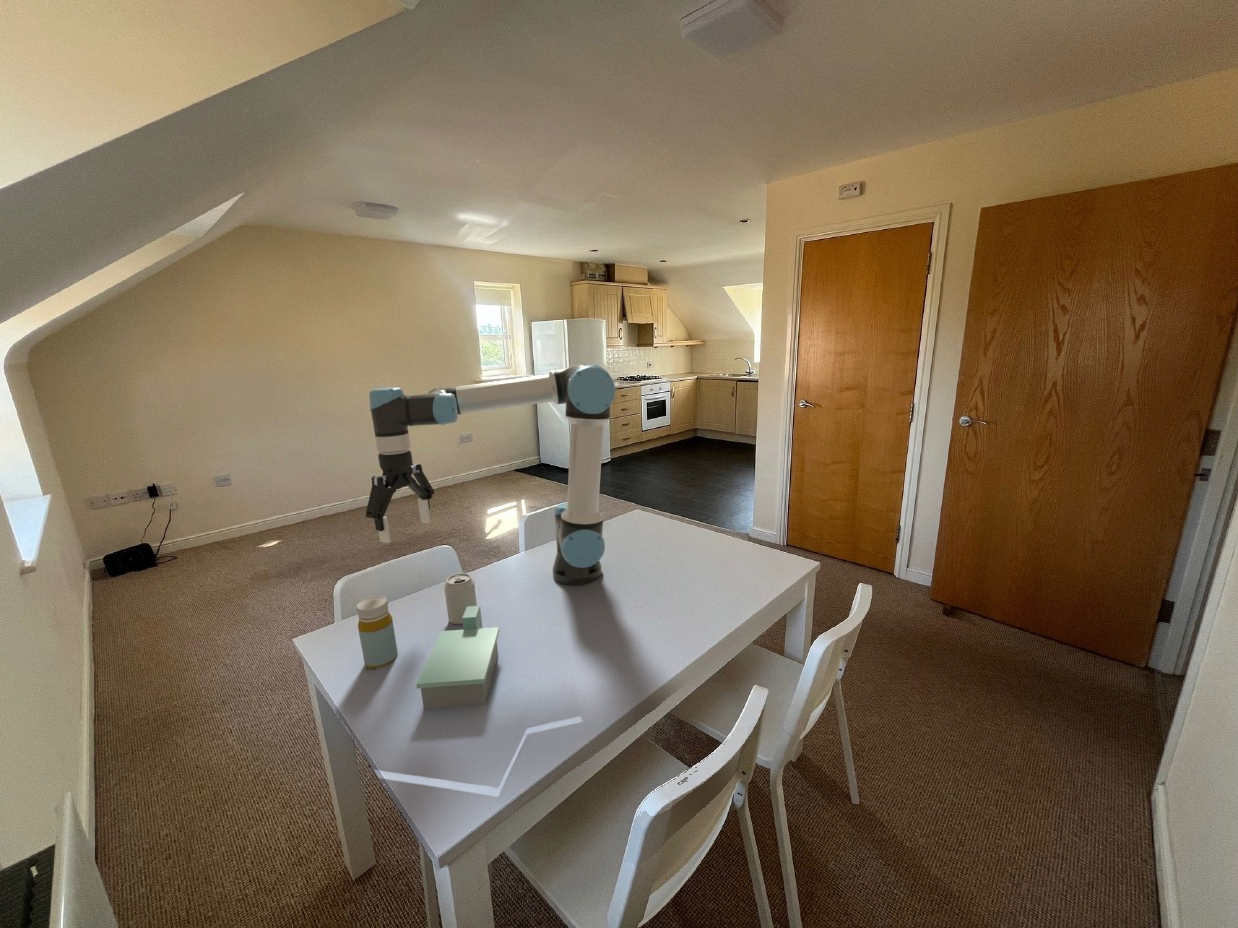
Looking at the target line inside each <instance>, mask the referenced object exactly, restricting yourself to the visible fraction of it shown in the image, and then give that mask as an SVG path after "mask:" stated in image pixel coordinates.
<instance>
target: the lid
mask: <svg viewBox="0 0 1238 928" xmlns="http://www.w3.org/2000/svg"><path fill="white" fill-rule="evenodd" d="M462 619H463V625H462V626H463V628H462V629H456V630H455V629H453V630H451V629H450V630H441V632H440V634H439V635H438V638H437V640H436V642H435V644H434V646H433V648H432V650H431V652H430V654H429V656H428V659H427V660H426V662H425V665H424V667H423V669H422V671H421V674H420V675H419V677H418V680H417V681H416V683H415V686H416V689H421V688H429V687H442V686H455V685H468V684H481V683H485V681H486V677H487V673H488V670H489V666H490V663H491V659H492V655H493V652H494V648H495V645H496V641H497V640H498V636H499V634H500V627H499V626H498V627H497V626H496V627H494V626H493V627H484V628H483V622H482V611H481V605H477V606H467V608H466V610H465V613H464V615H463V618H462ZM497 642H498V641H497Z"/></svg>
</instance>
